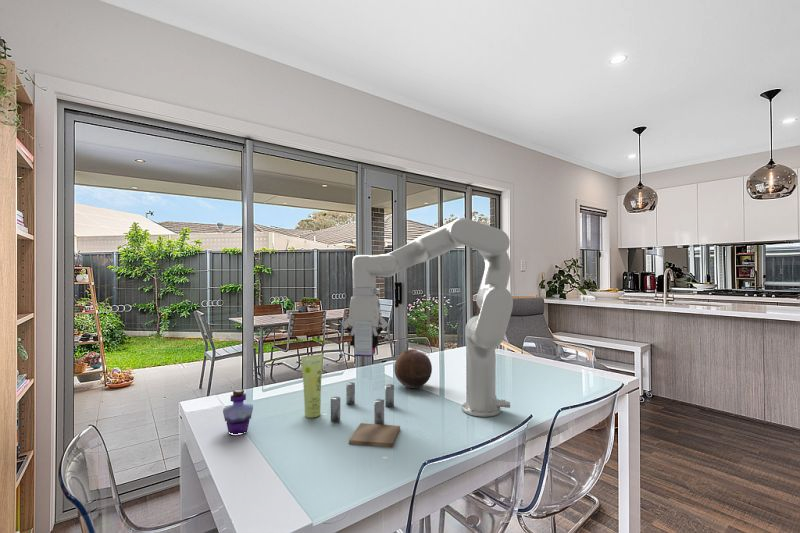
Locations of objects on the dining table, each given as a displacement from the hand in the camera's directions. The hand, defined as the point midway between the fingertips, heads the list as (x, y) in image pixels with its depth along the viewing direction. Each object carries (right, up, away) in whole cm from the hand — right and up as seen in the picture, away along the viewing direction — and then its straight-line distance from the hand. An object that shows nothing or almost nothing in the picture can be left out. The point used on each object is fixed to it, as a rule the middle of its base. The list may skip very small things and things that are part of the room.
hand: (365, 346), depth 130 cm
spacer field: (0, -22, 0) cm, 22 cm away
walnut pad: (+5, -22, -18) cm, 29 cm away
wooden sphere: (+17, -22, +28) cm, 40 cm away
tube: (-17, -22, -2) cm, 28 cm away
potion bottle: (-36, -22, -15) cm, 44 cm away
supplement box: (0, -3, 0) cm, 3 cm away
